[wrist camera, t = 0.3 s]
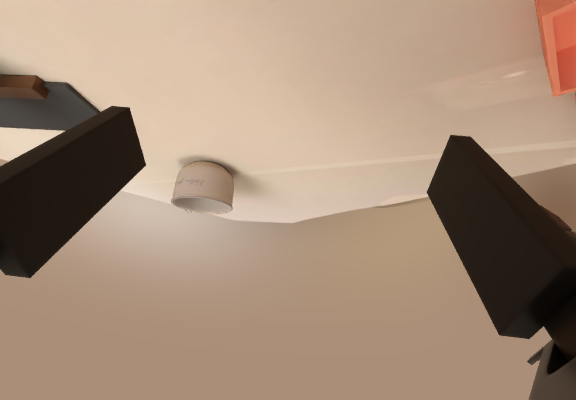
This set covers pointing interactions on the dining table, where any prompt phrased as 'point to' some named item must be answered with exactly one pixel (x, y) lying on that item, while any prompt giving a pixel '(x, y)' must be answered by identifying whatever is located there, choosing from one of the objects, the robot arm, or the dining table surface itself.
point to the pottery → (559, 42)
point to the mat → (47, 109)
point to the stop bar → (22, 87)
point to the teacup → (203, 188)
